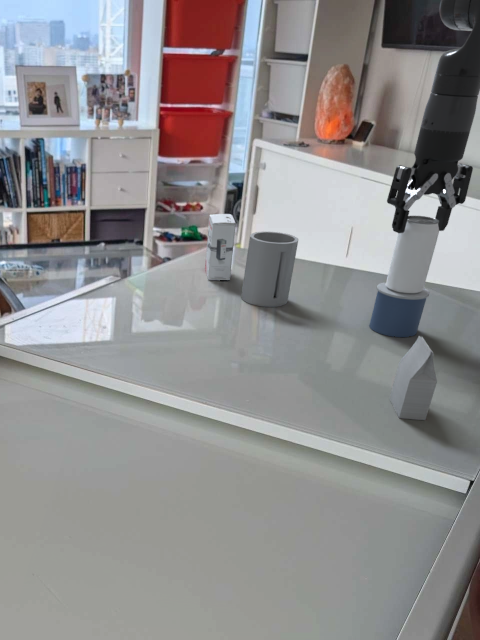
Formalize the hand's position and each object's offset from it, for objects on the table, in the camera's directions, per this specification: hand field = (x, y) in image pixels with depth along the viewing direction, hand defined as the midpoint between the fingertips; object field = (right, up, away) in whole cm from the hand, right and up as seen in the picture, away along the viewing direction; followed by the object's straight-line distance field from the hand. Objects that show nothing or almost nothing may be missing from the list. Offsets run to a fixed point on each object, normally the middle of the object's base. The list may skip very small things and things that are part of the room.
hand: (418, 231), depth 130 cm
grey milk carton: (-10, -33, -19) cm, 39 cm away
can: (0, -9, +6) cm, 10 cm away
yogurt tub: (-1, -15, +10) cm, 18 cm away
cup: (-22, -6, +22) cm, 31 cm away
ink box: (-29, +3, +34) cm, 45 cm away
